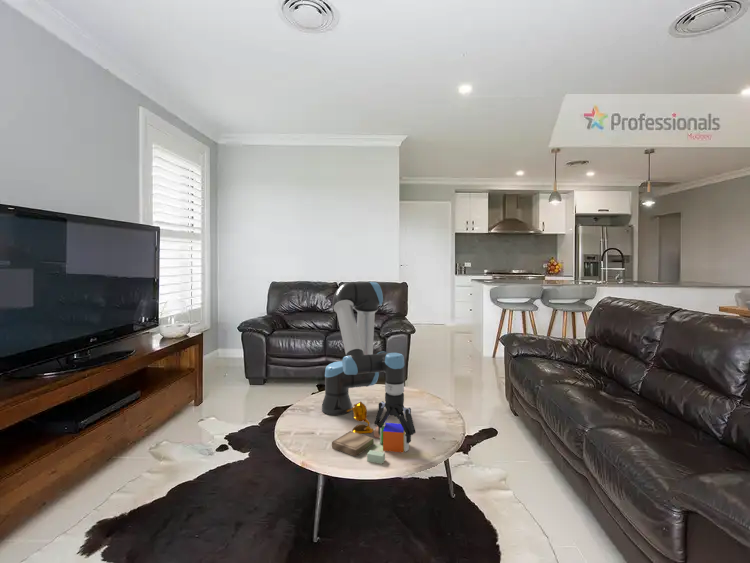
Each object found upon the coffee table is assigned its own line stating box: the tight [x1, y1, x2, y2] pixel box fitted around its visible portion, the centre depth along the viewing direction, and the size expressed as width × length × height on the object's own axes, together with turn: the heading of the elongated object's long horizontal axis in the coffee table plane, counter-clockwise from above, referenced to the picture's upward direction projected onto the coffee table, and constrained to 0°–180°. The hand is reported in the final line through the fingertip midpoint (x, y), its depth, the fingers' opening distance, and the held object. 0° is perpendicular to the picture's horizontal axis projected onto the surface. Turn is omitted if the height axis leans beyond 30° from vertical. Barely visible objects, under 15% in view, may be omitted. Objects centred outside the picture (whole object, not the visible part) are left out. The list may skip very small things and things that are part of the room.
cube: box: [382, 422, 406, 453], centre depth 156 cm, size 8×8×8 cm
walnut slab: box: [331, 430, 375, 457], centre depth 157 cm, size 12×12×3 cm
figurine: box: [347, 401, 375, 435], centre depth 171 cm, size 8×11×12 cm
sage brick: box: [366, 449, 386, 464], centre depth 146 cm, size 6×3×3 cm, turn 71°
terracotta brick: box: [373, 424, 385, 439], centre depth 168 cm, size 6×3×3 cm, turn 162°
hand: (394, 446), depth 156 cm, fingers open, 11 cm apart
